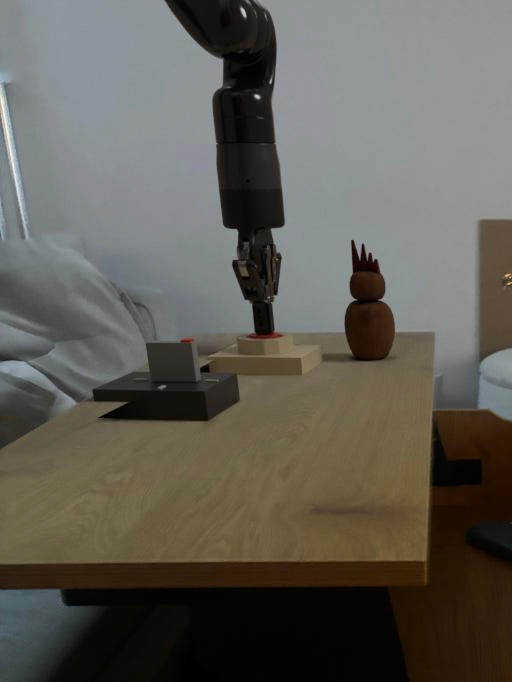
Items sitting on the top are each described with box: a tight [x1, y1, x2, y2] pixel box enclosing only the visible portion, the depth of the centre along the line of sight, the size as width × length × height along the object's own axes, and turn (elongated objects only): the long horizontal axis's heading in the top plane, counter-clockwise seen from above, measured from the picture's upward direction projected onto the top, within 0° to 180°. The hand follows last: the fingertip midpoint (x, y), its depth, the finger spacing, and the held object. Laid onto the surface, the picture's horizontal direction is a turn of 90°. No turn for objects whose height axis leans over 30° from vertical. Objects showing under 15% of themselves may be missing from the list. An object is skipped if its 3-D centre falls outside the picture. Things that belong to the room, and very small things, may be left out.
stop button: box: [248, 331, 281, 339], centre depth 127 cm, size 4×4×2 cm
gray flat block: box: [145, 338, 201, 382], centre depth 104 cm, size 5×1×4 cm, turn 84°
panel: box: [92, 371, 241, 421], centre depth 105 cm, size 12×10×3 cm
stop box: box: [207, 331, 323, 376], centre depth 127 cm, size 12×10×4 cm
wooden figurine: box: [343, 239, 396, 361], centre depth 131 cm, size 7×6×15 cm
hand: (265, 333), depth 126 cm, fingers closed
